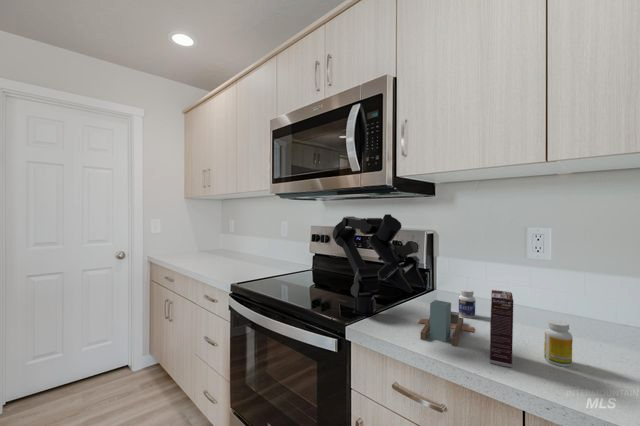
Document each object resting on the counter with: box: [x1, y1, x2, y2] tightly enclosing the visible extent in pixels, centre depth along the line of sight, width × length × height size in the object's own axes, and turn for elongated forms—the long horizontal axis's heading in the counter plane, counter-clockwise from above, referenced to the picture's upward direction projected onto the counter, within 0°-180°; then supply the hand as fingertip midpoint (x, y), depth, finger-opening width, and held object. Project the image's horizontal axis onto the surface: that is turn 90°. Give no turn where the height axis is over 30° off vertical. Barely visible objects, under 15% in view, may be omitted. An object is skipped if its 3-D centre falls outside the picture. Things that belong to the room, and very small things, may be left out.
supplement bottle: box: [543, 319, 573, 368], centre depth 76 cm, size 5×5×10 cm
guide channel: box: [418, 310, 475, 347], centre depth 96 cm, size 16×21×3 cm
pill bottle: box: [457, 288, 476, 319], centre depth 109 cm, size 5×5×9 cm
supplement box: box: [489, 289, 514, 368], centre depth 77 cm, size 9×5×16 cm, turn 151°
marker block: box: [429, 299, 452, 343], centre depth 90 cm, size 4×4×10 cm
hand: (418, 289), depth 94 cm, fingers open, 9 cm apart
